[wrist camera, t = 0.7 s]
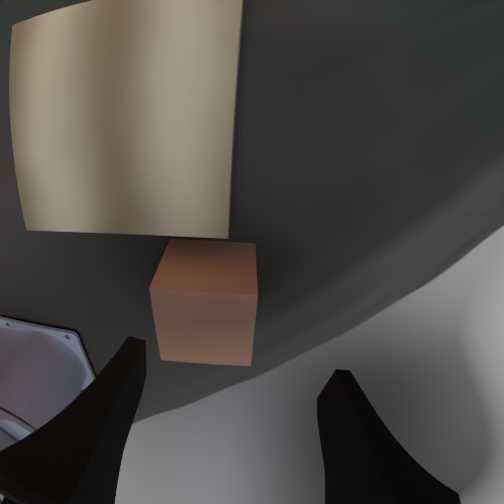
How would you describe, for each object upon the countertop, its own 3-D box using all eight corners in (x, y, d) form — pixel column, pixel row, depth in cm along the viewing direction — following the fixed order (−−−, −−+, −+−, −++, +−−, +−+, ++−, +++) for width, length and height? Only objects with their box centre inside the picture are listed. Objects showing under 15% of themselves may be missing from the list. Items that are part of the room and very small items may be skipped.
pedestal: (50, 210, 18) (26, 230, 15) (42, 28, 12) (12, 25, 9) (230, 214, 18) (228, 238, 16) (244, 3, 12) (243, -14, 10)
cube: (175, 304, 21) (161, 359, 17) (170, 238, 18) (149, 288, 14) (249, 308, 21) (250, 365, 17) (255, 242, 19) (258, 294, 14)
